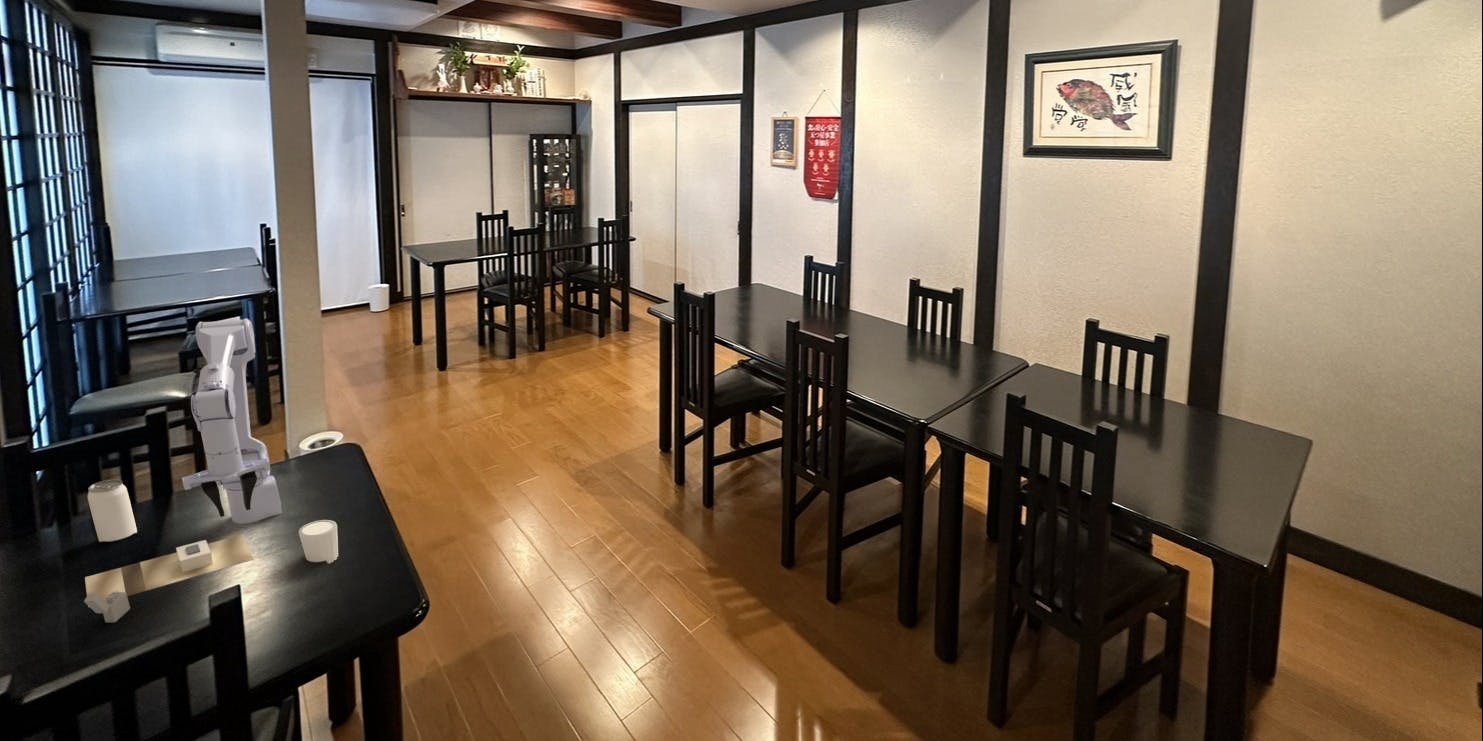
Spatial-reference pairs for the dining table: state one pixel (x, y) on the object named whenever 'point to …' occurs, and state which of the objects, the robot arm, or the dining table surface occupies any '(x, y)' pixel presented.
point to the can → (111, 510)
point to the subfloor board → (166, 570)
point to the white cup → (320, 541)
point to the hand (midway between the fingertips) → (234, 511)
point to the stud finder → (194, 555)
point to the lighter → (109, 605)
